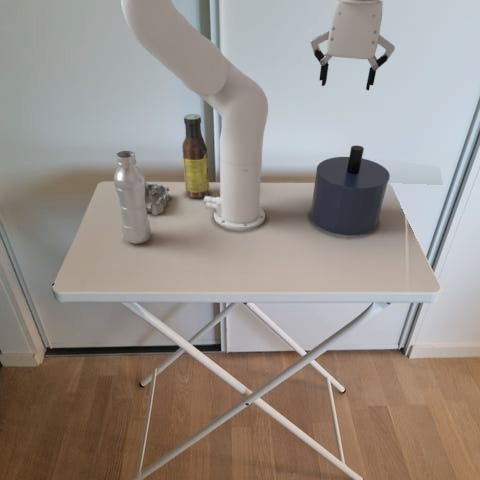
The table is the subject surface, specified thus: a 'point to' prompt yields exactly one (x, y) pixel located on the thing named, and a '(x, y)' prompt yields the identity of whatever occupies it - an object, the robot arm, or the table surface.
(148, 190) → the grey metal casting
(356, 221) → the pot
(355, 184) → the pot lid
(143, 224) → the plastic bottle
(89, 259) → the table surface
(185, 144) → the sauce bottle
